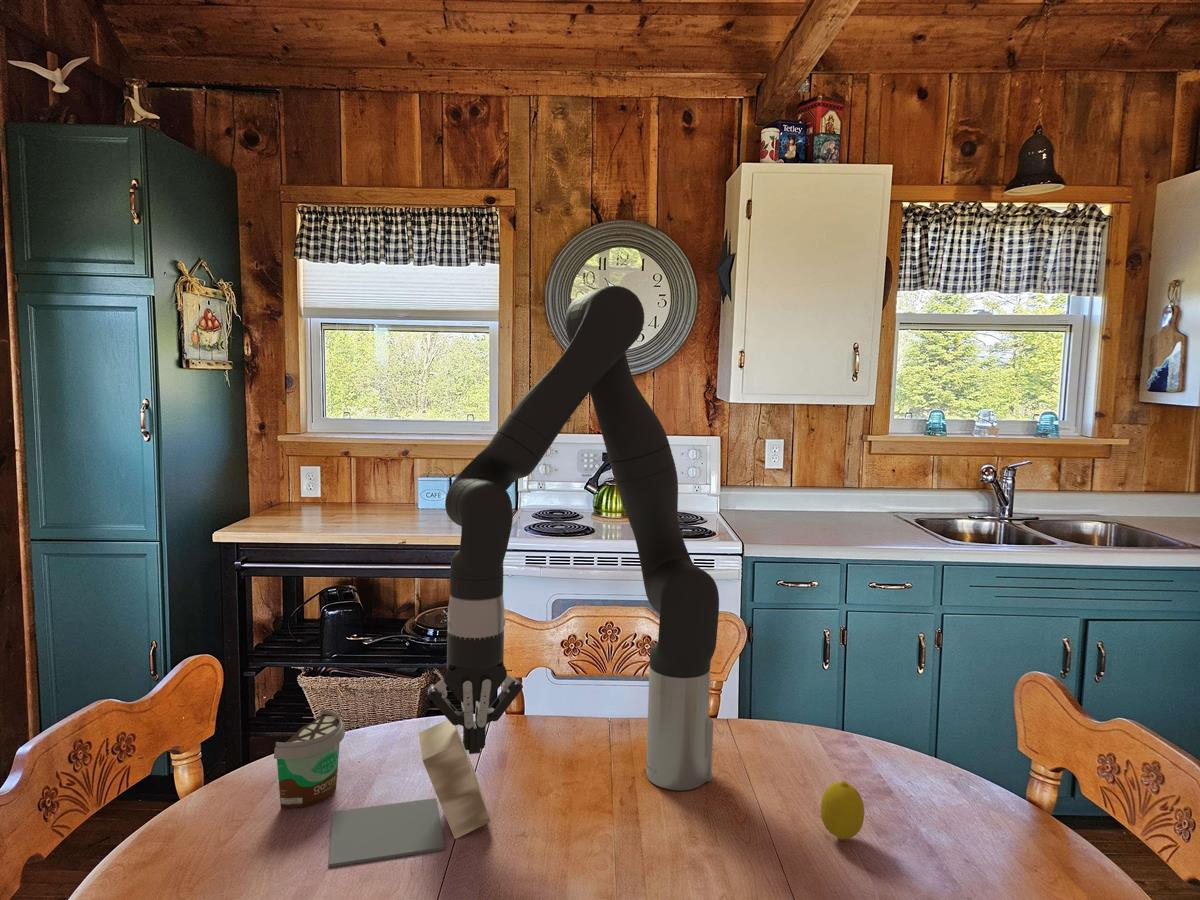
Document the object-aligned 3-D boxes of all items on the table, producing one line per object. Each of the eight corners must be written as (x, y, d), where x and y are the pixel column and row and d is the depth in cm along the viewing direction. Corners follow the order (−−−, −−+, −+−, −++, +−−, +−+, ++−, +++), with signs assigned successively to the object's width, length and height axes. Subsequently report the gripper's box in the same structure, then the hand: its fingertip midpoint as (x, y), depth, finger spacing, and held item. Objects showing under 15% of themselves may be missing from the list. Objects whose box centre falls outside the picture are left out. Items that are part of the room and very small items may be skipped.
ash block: (482, 790, 109) (452, 717, 107) (490, 821, 101) (459, 743, 99) (448, 806, 108) (418, 733, 106) (455, 839, 100) (422, 760, 98)
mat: (436, 800, 109) (436, 797, 109) (444, 849, 98) (444, 846, 98) (332, 814, 105) (332, 811, 105) (328, 867, 94) (328, 864, 94)
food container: (314, 820, 104) (314, 749, 103) (274, 814, 105) (273, 744, 104) (360, 775, 116) (360, 711, 115) (323, 770, 117) (323, 707, 116)
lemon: (840, 856, 98) (843, 796, 98) (810, 833, 103) (813, 776, 103) (871, 845, 101) (875, 787, 100) (840, 823, 106) (843, 768, 105)
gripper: (519, 615, 108) (516, 734, 109) (423, 621, 104) (422, 744, 106) (530, 632, 101) (527, 758, 102) (427, 638, 97) (426, 770, 98)
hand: (473, 751), depth 104 cm, fingers closed
